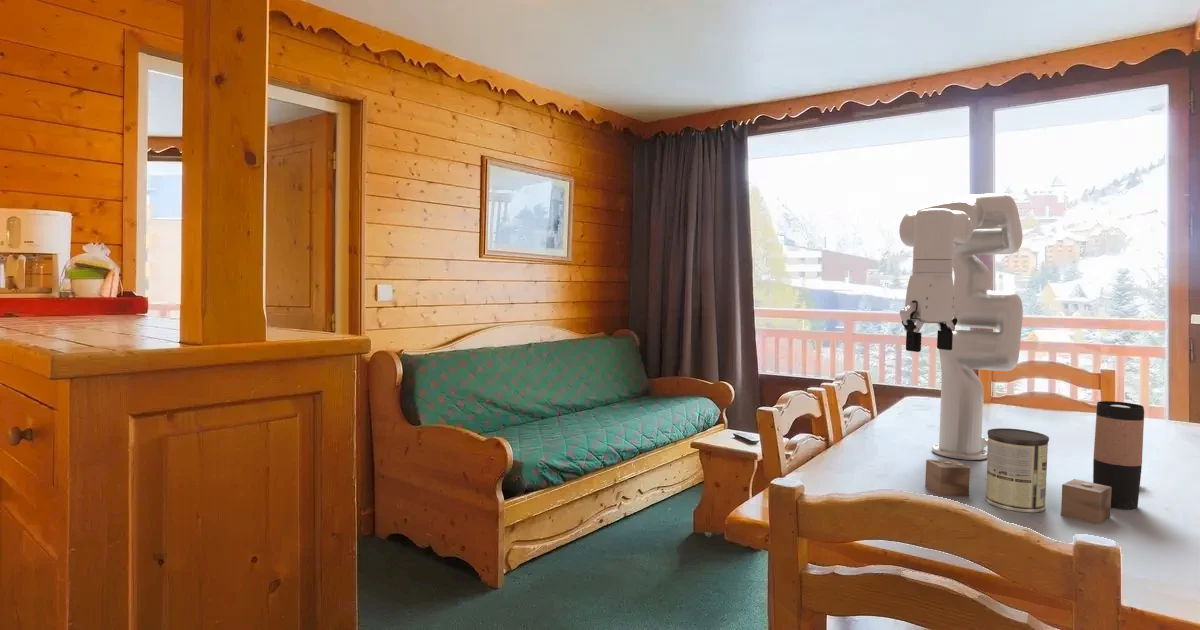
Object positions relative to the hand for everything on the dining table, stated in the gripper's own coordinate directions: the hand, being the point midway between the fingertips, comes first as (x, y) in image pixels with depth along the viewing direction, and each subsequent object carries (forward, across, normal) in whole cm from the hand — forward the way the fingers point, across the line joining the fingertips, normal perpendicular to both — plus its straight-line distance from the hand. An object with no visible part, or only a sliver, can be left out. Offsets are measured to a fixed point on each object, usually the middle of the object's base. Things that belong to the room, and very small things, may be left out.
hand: (929, 350), depth 142 cm
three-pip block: (+30, -2, +4) cm, 30 cm away
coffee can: (+30, -7, +15) cm, 34 cm away
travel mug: (+30, -26, +23) cm, 46 cm away
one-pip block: (+30, -13, +25) cm, 41 cm away
